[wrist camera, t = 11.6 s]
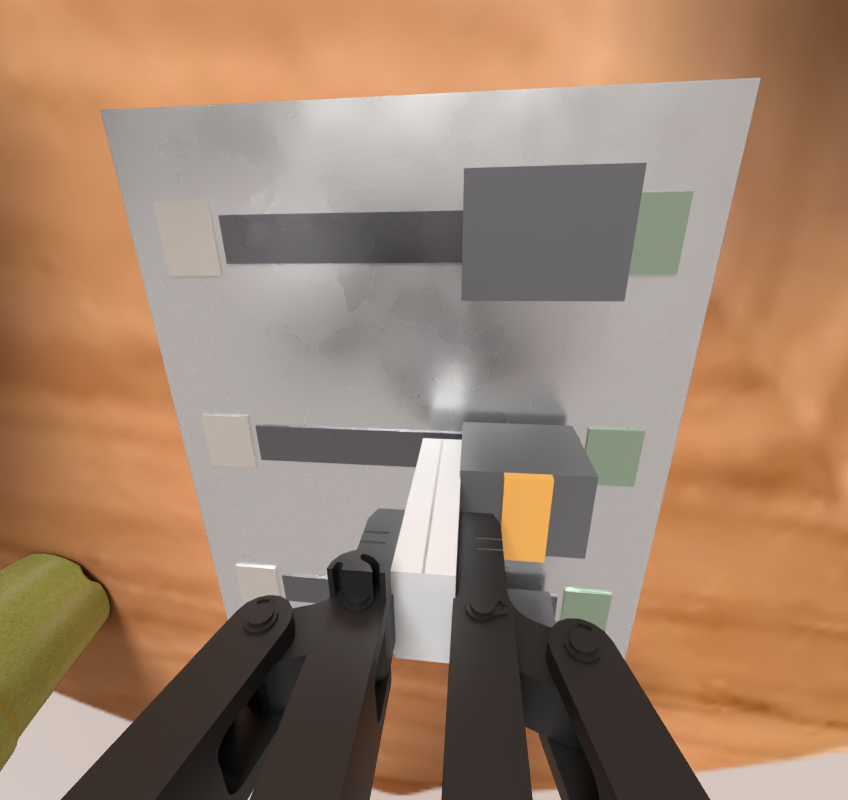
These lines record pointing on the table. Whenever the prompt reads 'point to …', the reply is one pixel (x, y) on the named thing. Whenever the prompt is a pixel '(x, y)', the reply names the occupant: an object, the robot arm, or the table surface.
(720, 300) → the table surface
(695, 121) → the panel
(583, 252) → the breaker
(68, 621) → the plant pot
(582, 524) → the breaker
